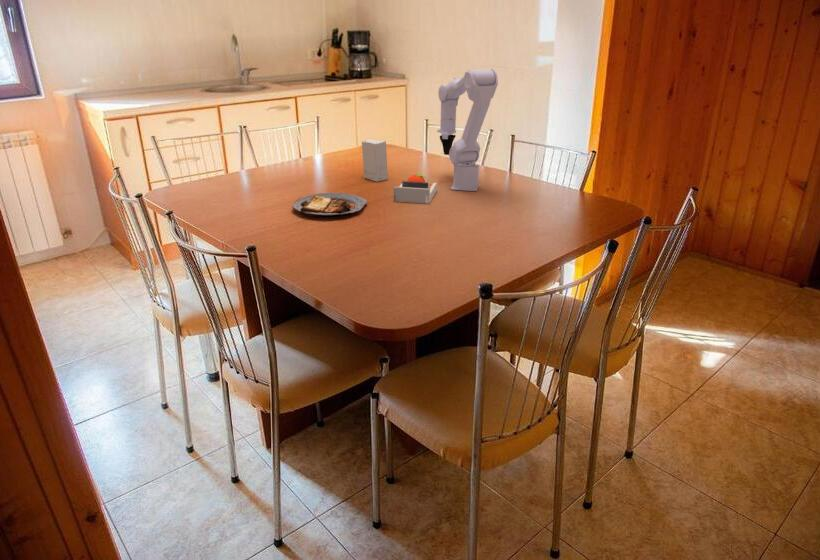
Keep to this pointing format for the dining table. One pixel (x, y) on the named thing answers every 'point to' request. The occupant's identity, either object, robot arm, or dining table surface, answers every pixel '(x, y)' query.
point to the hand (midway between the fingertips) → (447, 154)
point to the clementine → (416, 178)
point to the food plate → (321, 202)
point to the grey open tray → (414, 194)
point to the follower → (415, 184)
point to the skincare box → (375, 160)
